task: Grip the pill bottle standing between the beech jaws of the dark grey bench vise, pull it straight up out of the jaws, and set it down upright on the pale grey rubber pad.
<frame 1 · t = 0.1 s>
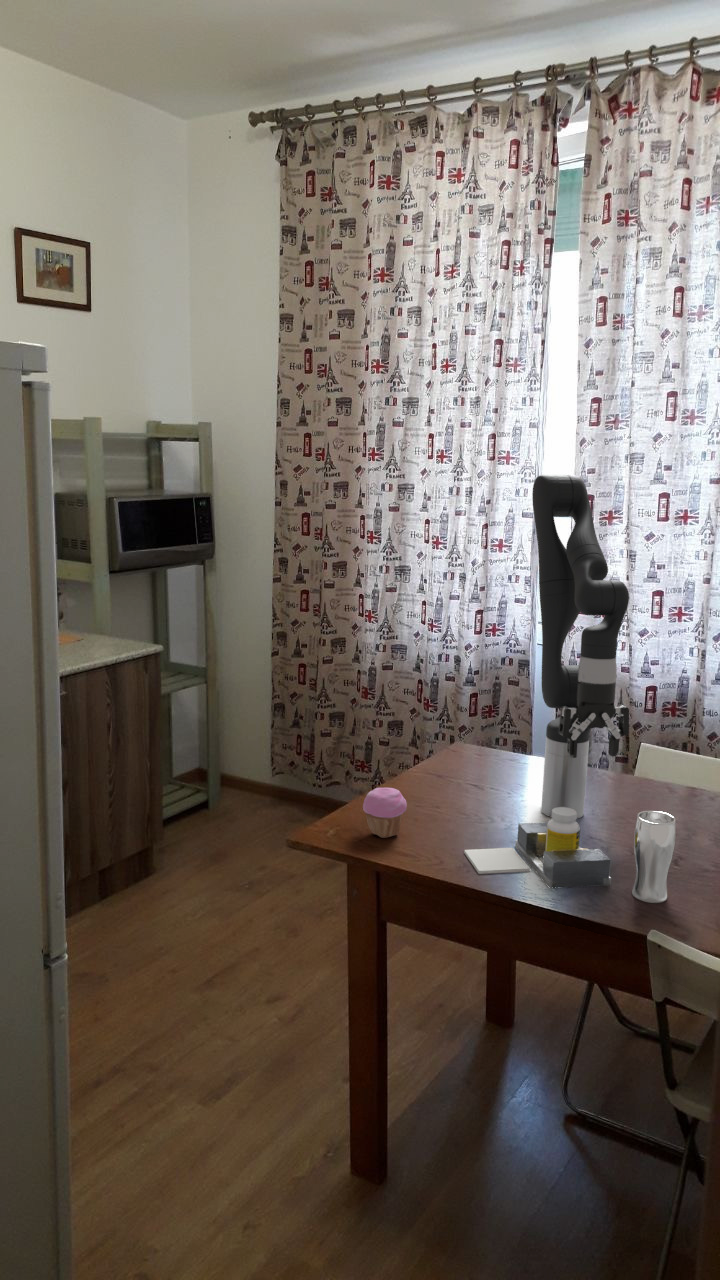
hand: (592, 756, 204), 17 cm above the table, tool pointing down, fingers open, 8 cm apart
bench vise: (560, 865, 192), on the table
cupcake: (383, 835, 205), on the table
pill bottle: (560, 866, 192), resting in bench vise
beer glass: (649, 896, 180), on the table
placing pad: (496, 861, 193), on the table
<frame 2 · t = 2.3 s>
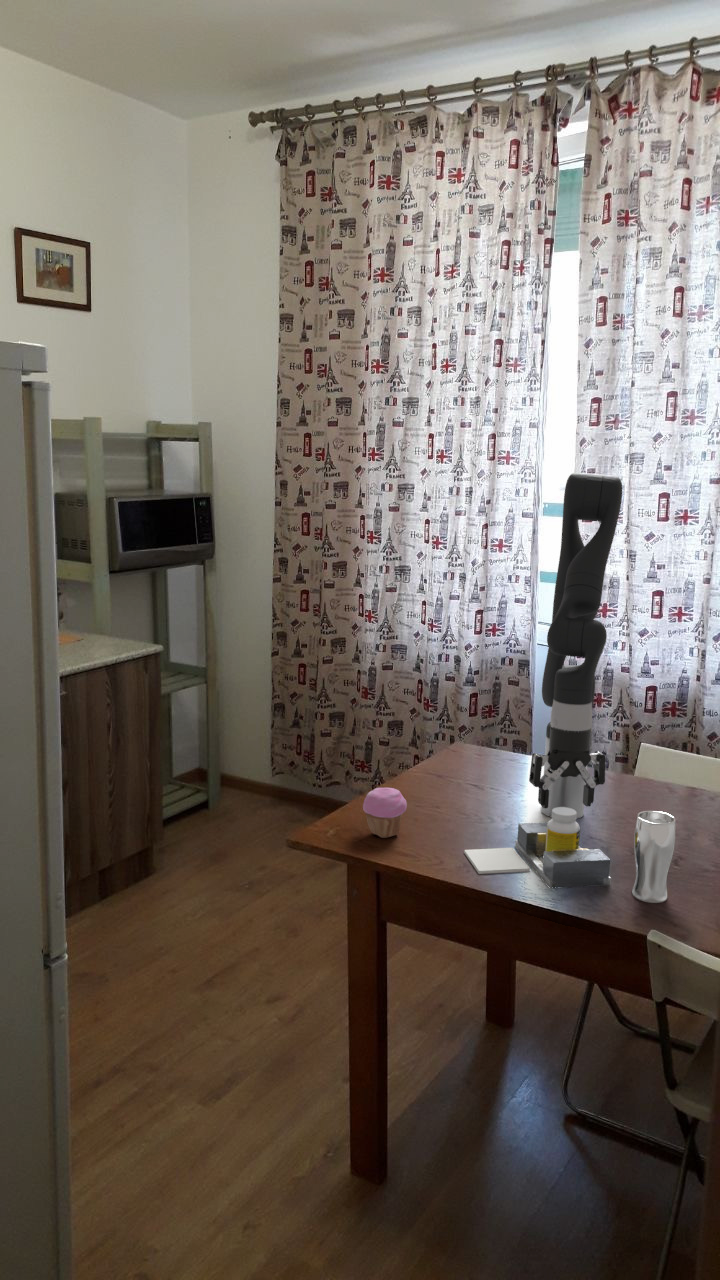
hand: (565, 806, 190), 12 cm above the table, tool pointing down, fingers open, 8 cm apart
nothing on the table moved.
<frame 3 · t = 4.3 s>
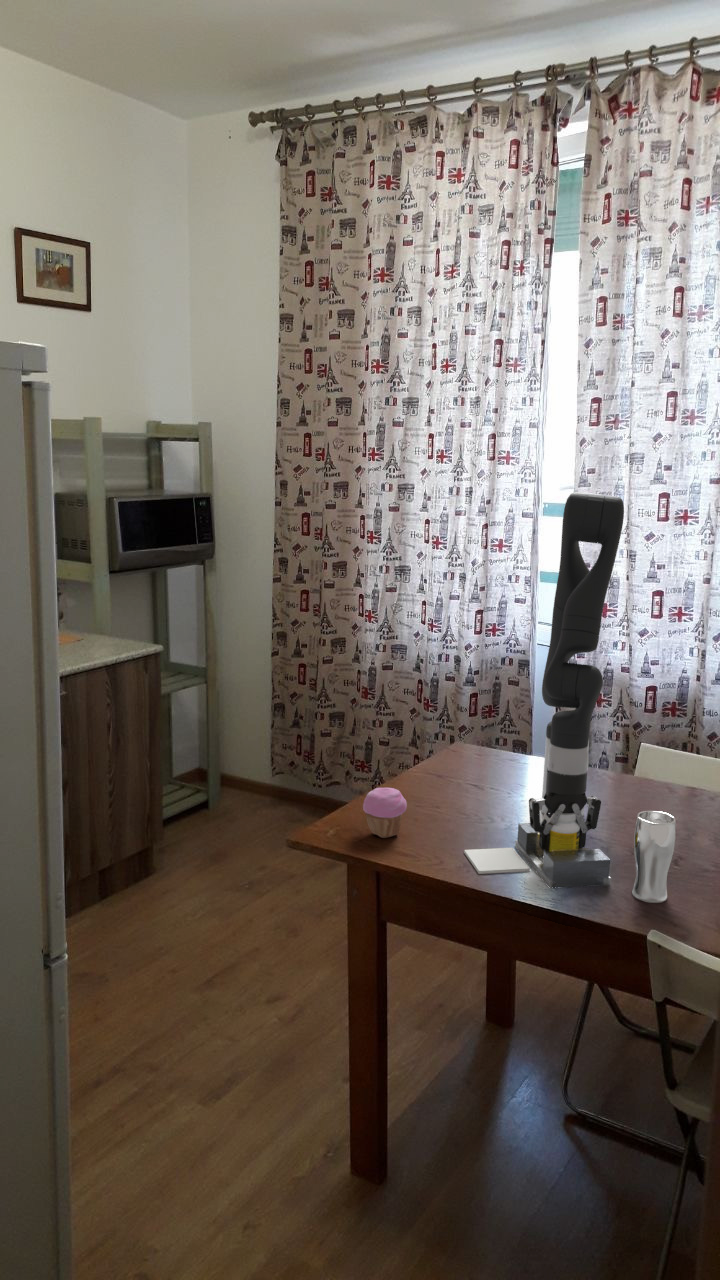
hand: (561, 849, 192), 3 cm above the table, tool pointing down, fingers closed on pill bottle, 6 cm apart
pill bottle: (560, 866, 192), resting in bench vise, touching gripper
everything else where it was.
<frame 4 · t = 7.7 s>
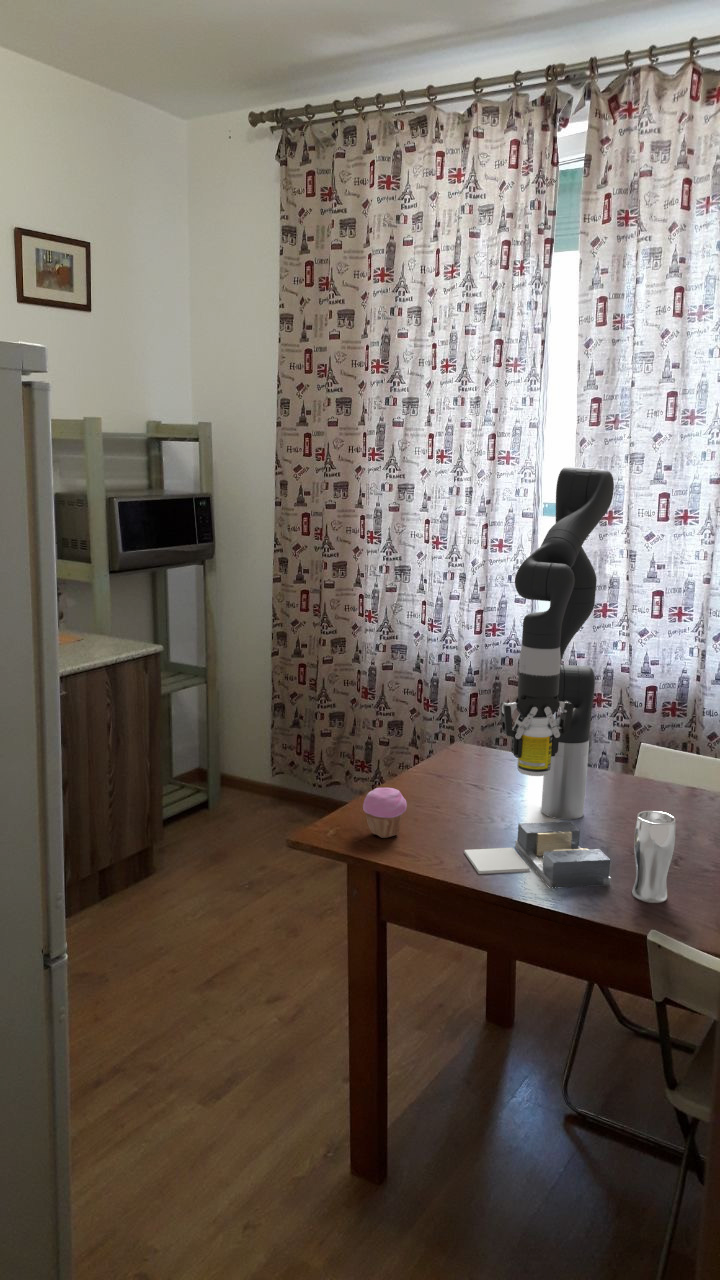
hand: (534, 755, 188), 22 cm above the table, tool pointing down, fingers closed on pill bottle, 6 cm apart
pill bottle: (533, 772, 189), point 18 cm above the table, touching gripper
everything else where it was.
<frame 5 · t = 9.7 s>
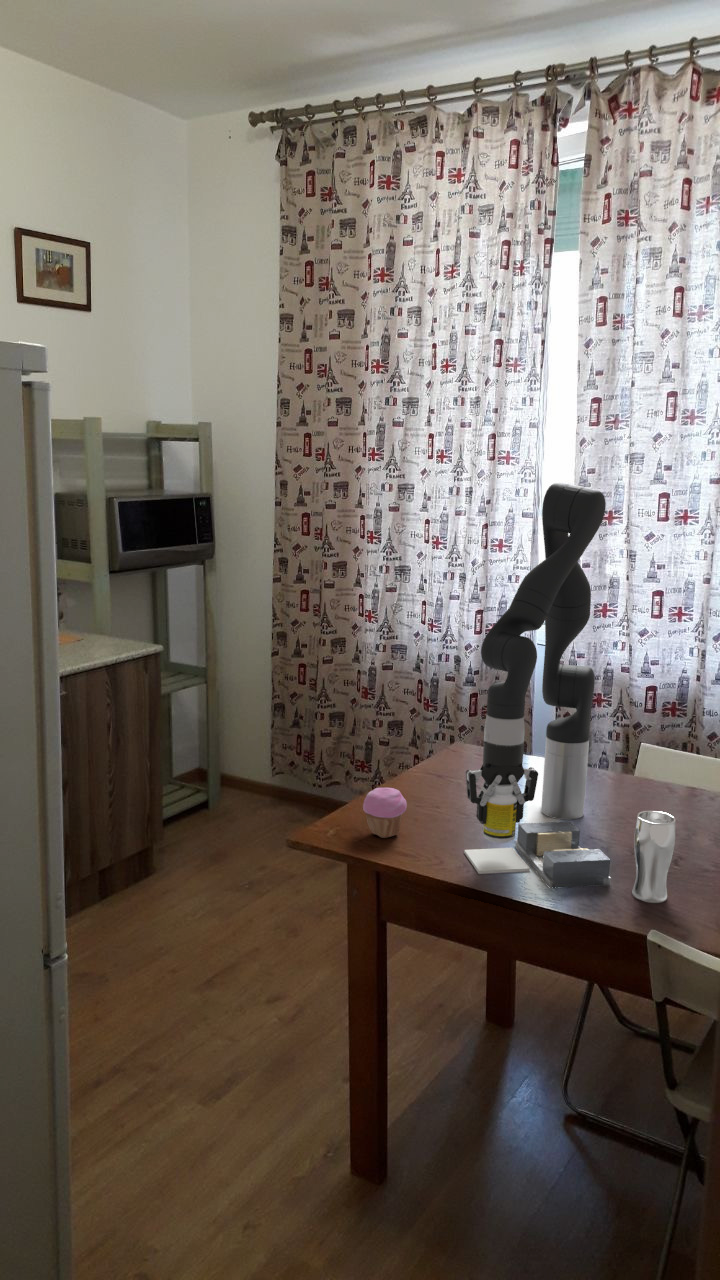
hand: (499, 821, 191), 8 cm above the table, tool pointing down, fingers closed on pill bottle, 6 cm apart
pill bottle: (498, 838, 192), point 5 cm above the table, touching gripper
everything else where it was.
when the fingers open (5 cm above the table, at t = 11.2 s): pill bottle drops 1 cm, resting on placing pad.
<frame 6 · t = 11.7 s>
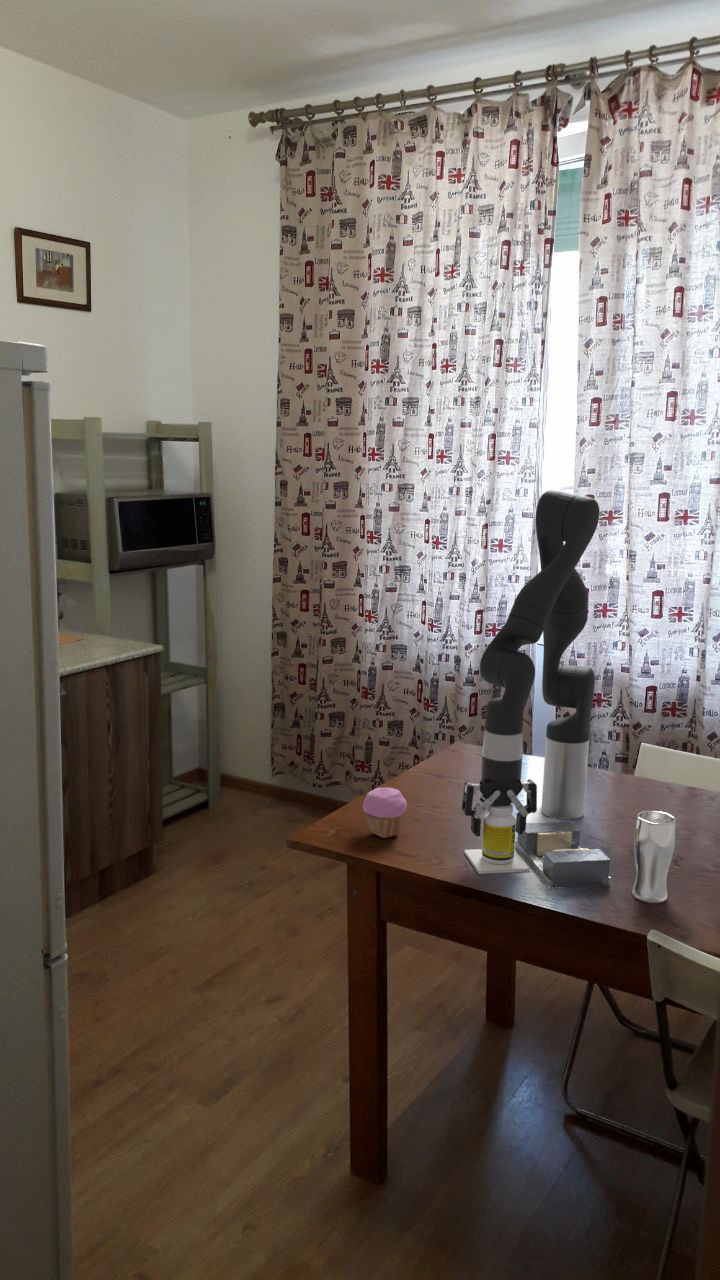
hand: (497, 834, 192), 6 cm above the table, tool pointing down, fingers open, 8 cm apart
pill bottle: (497, 859, 193), resting on placing pad
everything else where it was.
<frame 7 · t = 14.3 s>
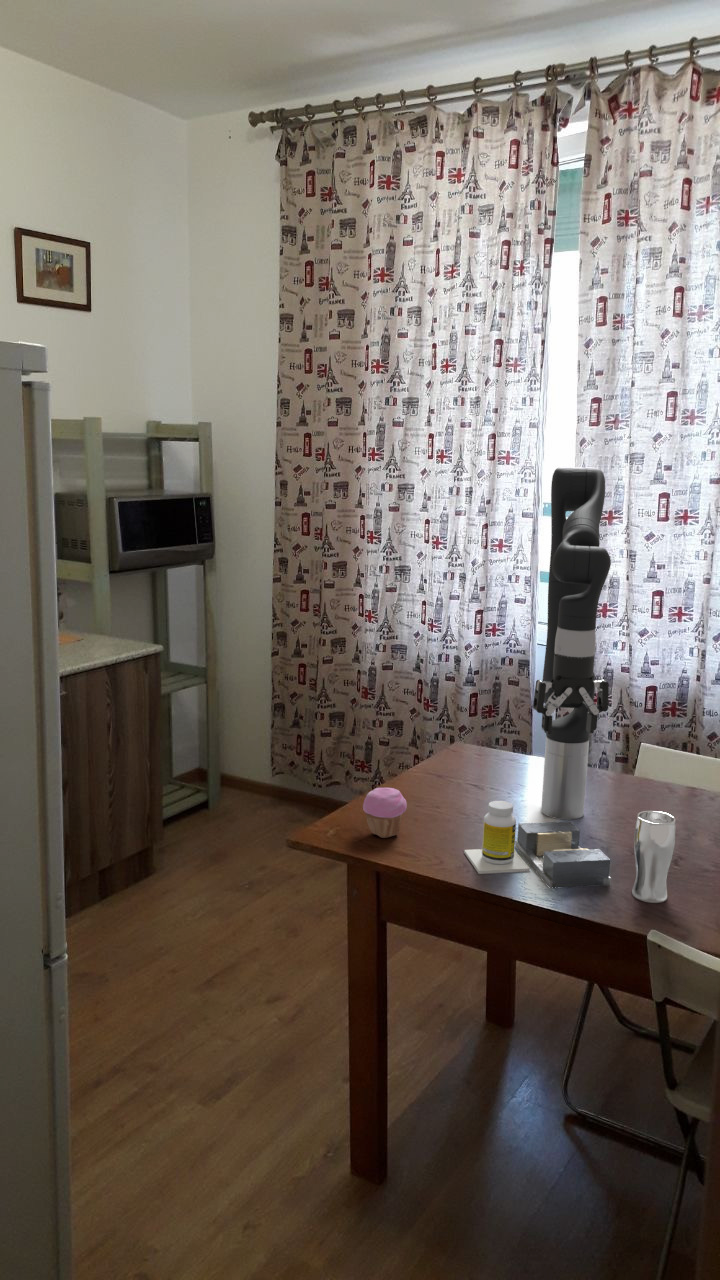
hand: (568, 732, 192), 25 cm above the table, tool pointing down, fingers open, 8 cm apart
nothing on the table moved.
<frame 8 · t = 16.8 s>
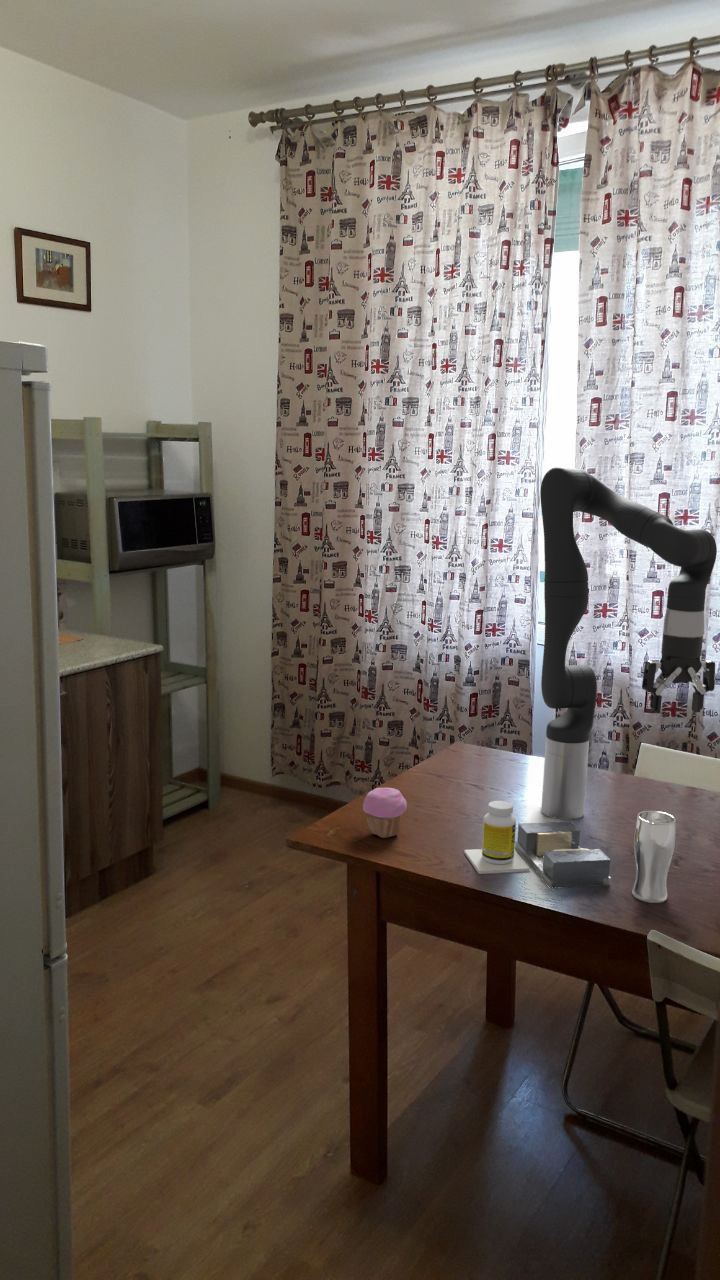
hand: (675, 712, 198), 28 cm above the table, tool pointing down, fingers open, 8 cm apart
nothing on the table moved.
at the end: pill bottle inside the target area on the placing pad (0.2 cm from its centre), point 0.4 cm above the placing pad's base; pill bottle tilted 0°; the gripper is holding nothing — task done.
